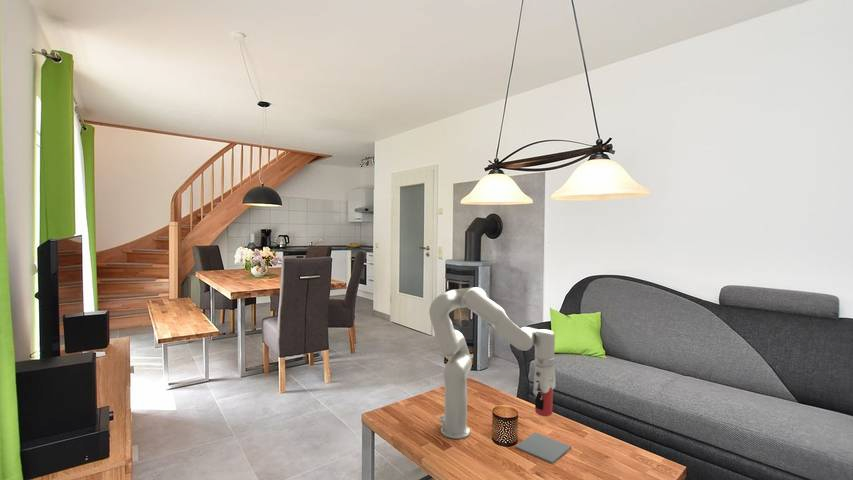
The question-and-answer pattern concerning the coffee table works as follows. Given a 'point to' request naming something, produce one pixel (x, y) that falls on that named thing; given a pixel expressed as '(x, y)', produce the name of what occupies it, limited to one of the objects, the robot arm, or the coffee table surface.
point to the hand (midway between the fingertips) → (543, 405)
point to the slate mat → (543, 447)
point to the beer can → (546, 403)
